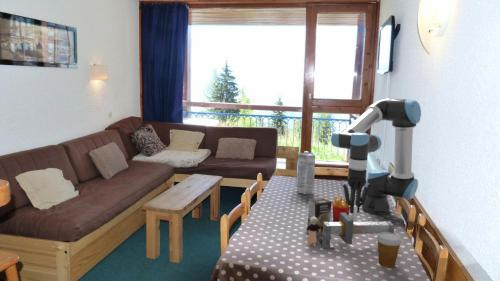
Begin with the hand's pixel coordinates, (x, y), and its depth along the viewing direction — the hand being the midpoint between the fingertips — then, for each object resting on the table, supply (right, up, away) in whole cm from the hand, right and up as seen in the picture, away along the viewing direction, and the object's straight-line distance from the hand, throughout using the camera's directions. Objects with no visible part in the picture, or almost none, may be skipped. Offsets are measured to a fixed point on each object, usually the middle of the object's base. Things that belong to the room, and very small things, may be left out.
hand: (353, 219), depth 177 cm
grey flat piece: (-4, -9, +1) cm, 10 cm away
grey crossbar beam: (+2, -12, +2) cm, 12 cm away
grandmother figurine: (-18, -11, +2) cm, 21 cm away
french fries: (-1, -8, +25) cm, 26 cm away
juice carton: (-11, +1, +80) cm, 81 cm away
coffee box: (-13, -9, +14) cm, 22 cm away
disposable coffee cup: (+9, -15, -16) cm, 24 cm away
